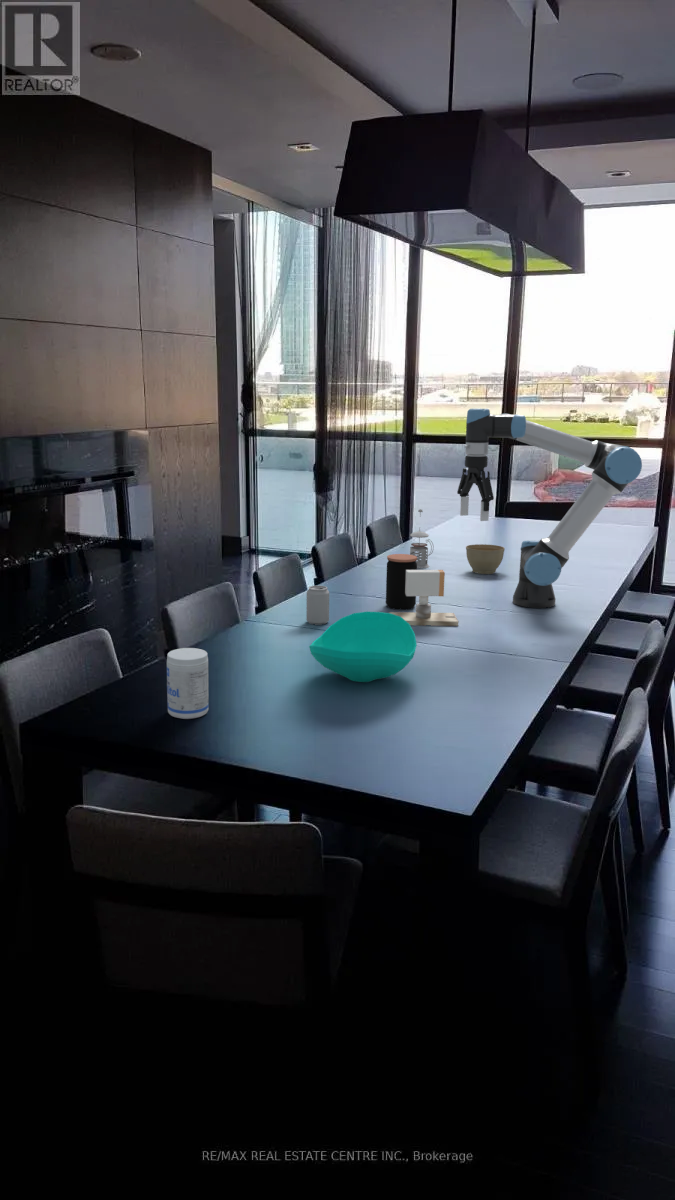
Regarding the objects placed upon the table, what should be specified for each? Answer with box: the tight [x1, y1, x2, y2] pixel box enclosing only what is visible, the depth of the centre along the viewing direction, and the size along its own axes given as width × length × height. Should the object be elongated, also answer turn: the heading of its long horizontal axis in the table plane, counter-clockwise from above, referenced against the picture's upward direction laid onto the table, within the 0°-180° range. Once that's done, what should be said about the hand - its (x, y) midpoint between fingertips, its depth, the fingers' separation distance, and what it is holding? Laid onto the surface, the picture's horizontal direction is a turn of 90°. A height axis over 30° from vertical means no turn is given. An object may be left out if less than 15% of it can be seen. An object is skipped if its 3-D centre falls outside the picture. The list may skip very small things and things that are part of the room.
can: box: [305, 585, 330, 626], centre depth 282 cm, size 8×8×12 cm
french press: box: [409, 508, 434, 569], centre depth 373 cm, size 10×12×25 cm
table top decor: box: [309, 611, 418, 683], centre depth 228 cm, size 40×28×13 cm
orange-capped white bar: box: [405, 569, 446, 605], centre depth 284 cm, size 4×12×11 cm, turn 93°
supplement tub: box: [166, 647, 209, 720], centre depth 201 cm, size 10×10×15 cm
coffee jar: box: [385, 553, 418, 611], centre depth 303 cm, size 11×11×18 cm
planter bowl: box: [465, 543, 505, 575], centre depth 364 cm, size 16×16×11 cm
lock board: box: [388, 603, 459, 627], centre depth 286 cm, size 22×11×6 cm, turn 90°
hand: (474, 518), depth 295 cm, fingers open, 13 cm apart
